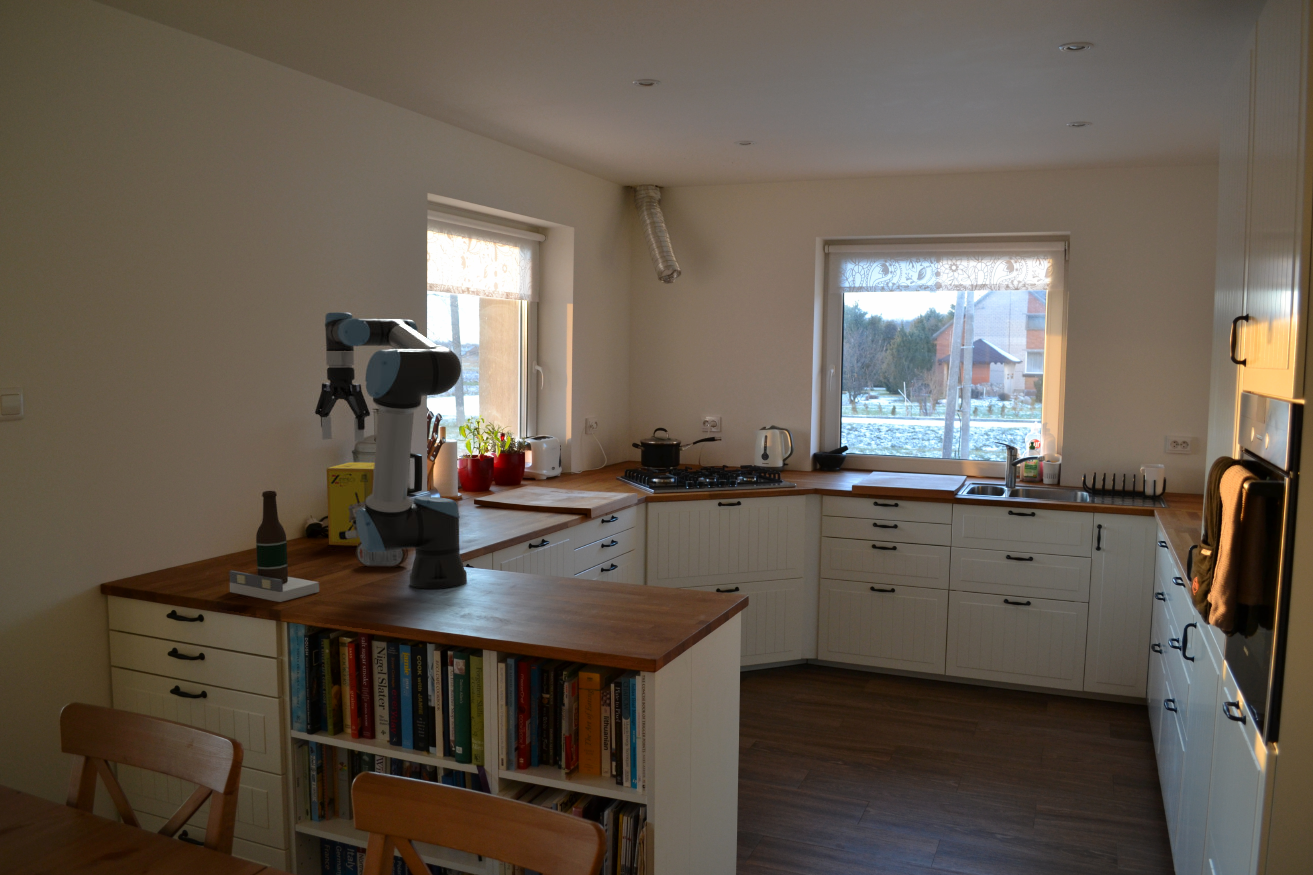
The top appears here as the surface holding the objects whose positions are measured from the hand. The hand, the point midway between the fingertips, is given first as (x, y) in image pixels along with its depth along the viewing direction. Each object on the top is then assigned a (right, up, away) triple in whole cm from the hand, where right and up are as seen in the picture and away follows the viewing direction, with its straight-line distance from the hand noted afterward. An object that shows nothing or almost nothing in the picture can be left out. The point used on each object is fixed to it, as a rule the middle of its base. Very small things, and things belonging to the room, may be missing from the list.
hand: (343, 440), depth 279 cm
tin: (+11, -37, +2) cm, 39 cm away
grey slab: (-9, -39, -27) cm, 49 cm away
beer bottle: (-9, -37, -28) cm, 47 cm away
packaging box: (-6, -33, +40) cm, 52 cm away
